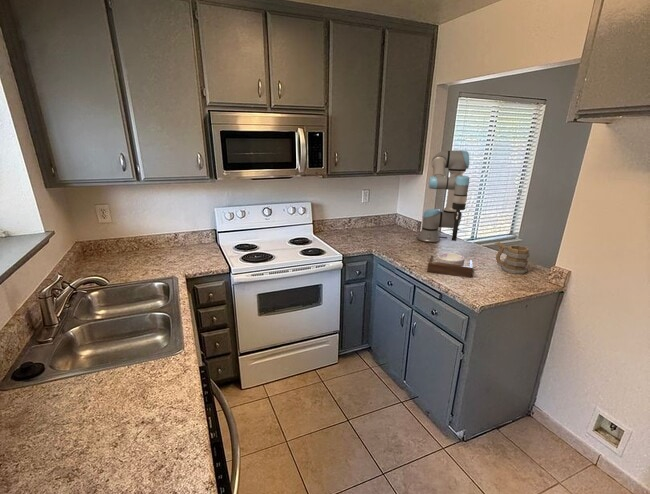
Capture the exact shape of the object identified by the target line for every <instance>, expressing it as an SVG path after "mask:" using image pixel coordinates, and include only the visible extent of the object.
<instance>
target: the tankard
mask: <svg viewBox="0 0 650 494" xmlns="http://www.w3.org/2000/svg"><path fill="white" fill-rule="evenodd" d="M494 246H495V247H497V246H498V247H499V249H498V250H499V251H498V252H497V253H496V256H495V260H496V263H497V264H498V265H502V266H501V269H502V270H503V271H504V272H506V273H509V274H514V275H525V274H526V273H528V270H529V269H528V268H527V266H528V264H529V261H528V258H529V257H530V254H531V253H530V248H528V247H527V246H524V245H517V244H513V245H509V246H507V245H504V244H503V243H501V242H500V241H497V242H495V243H494ZM504 250H506V251H505V255H506V256H505V258H504V260H502V259H501V256H502V255H503V253H504Z"/></svg>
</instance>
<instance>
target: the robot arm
mask: <svg viewBox="0 0 650 494" xmlns="http://www.w3.org/2000/svg"><path fill="white" fill-rule="evenodd" d="M431 167H432V176H430V177H429V182H428V189H431V190H447V196H446V197H447V198H446V202H445V203H446V204H445V207H444V208H443V210H442V211H441V209H440V208H429V209H425V210H424V211H423V215H422V224H421V231H420V232H419V235H418V238H417V239H418V241H420V242H422V243H428V244H431V243H432V244H433V243H438V242H439V241H440V239H448V237H447V236H439V235H440V234H439V228H442V229H443V228H445V229H451V231H452V235H451V241H452V242H457V237H458V231H460V229H459V226H460V224H461V222H462V216H463V213H462V211H465V210H466V203H467V202H468V201H467V200H468V192H469V186H470V176H468V175H464V174H465V172H466V171H467V169H469V167H470V154H469V151H467V150H441V151H440V152H438V153H436V154H435V155H434V156H433V158H432V160H431ZM446 169H448V172H449V176H446Z"/></svg>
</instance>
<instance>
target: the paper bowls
mask: <svg viewBox="0 0 650 494" xmlns="http://www.w3.org/2000/svg"><path fill="white" fill-rule="evenodd" d="M436 262H439V263H447V264H456V265H464V266H465V257H464V255H461V254H457V253H449V252H448V253H447V252H445V253H444V252H443V253H440V254H438V255H437V259H436Z"/></svg>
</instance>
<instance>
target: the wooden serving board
mask: <svg viewBox="0 0 650 494" xmlns="http://www.w3.org/2000/svg"><path fill="white" fill-rule="evenodd" d="M434 256H435V255H430V258H429V261H428V263H427V273H431V274H432V273H433V274H437V275H439V274H440V275H447V276H454V277H455V276H456V277H462V278H470V279H472V275H473V269H474V266H473V259H469V261H468V265H465V264H464V265H456V264H447V263H439V262H437V261H434V258H435V257H434Z"/></svg>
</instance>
